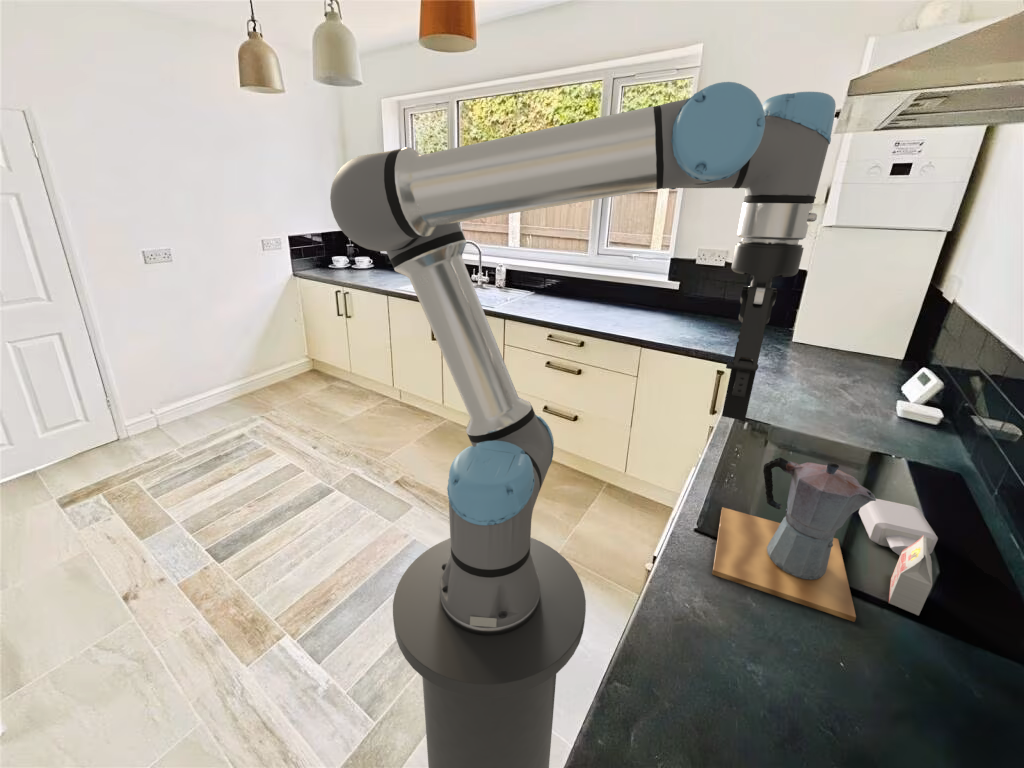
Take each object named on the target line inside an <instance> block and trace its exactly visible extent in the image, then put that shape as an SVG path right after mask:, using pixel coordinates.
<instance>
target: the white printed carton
mask: <svg viewBox="0 0 1024 768" xmlns="http://www.w3.org/2000/svg"><path fill="white" fill-rule="evenodd" d="M930 556H931V554H929V551H928V547H927V543H926V537H924V535H923V536H922V537H921V538H920V539H919V540H918V541H916V542H915V543H914V544H912V545H910V546H909V547H907V548H906V549H904V550H902V552H901V555H899V558H898V559H897V563H896V565H895V568H894V570H893V572H892V574H891V577H890V583H889V594H888V604H890V605H892V606H895V607H896V608H897V607H898V608H899V609H902V610H904V611H906V612H909V613H911V614H914V615H916V616H917V617H918V616H920V614H921V611H922V610H923V608H924V605H925V603H926V601H927V598H928V596H929V594H930V593H931V589H932V587H933V564H932V563H933V561H932V557H931V558H930Z"/></svg>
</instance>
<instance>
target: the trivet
mask: <svg viewBox="0 0 1024 768" xmlns="http://www.w3.org/2000/svg"><path fill="white" fill-rule="evenodd" d="M780 523H781V522H778V521H774V520H770V519H768V518H767V519H766V518H763V517H759V516H756V515H751V514H748V513H745V512H741V511H738V510H734V509H730V508H727V507H724V506H723V507H721V510H720V517H719V524H718V531H717V538H716V544H715V552H714V558H713V565H712V572H711V575H712V576H715V577H719V578H721V579H725V580H726V581H727V580H728V581H731V582H733V583H736V584H739V585H741V586H742V585H743V586H745V587H748V588H751V589H754V590H757V591H760V592H763V593H765V594H769V595H772V596H775V597H779V598H780V599H784V600H787V601H790V602H793V603H796V604H799V605H802V606H806V607H808V608H810V609H814V610H817V611H820V612H823V613H825V614H829V615H832V616H834V617H838V618H841V619H844V620H847V621H850V622H853V623H855V622H856V619H857V615H856V610H855V605H854V602H853V598H852V597H853V596H852V593H851V589H850V584H849V579H848V575H847V570H846V566H845V562H844V559H843V558H844V557H843V554H842V553H843V552H842V549H841V545H840V540H839V538H836V537H834V538H833V546H832V547H831V552H830V556H829V561H828V565H827V569H826V572H825V574H824V575H823V576H822V577H821V578H819V579H816V580H809V579H802V578H799V577H796V576H794V575H791V574H789V573H787V572H785V571H784V570H782V569H781V568H779V567H778V566H777V565H776V564H775V563H774V562H773V561H772V560H771V559H770V557H769V555H768V553H767V546H768V544H769V542H770V541H771V539H772V537H773V536H774V534H775V532H776V531H777V529H778V527H779V525H780Z"/></svg>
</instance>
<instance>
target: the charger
mask: <svg viewBox="0 0 1024 768" xmlns="http://www.w3.org/2000/svg"><path fill="white" fill-rule="evenodd" d="M858 515H859V517H860V519H861V522H862V524H863V527H864V528H865V531H866V533H867V535H868V538H869V540H870V541H871V542H872V543H874V544H877V545H880V546H882V547H886V548H890V549H891V550H892V552H893V553H895V554H896V555H898V556H900V555H901V552H902V550H904V549H906V548H907V547H909V546H910V545H912V544H914V543H915V542H916V541H918V540H919V539H920V538H921V537H922V536H923V535H924V537H926V543H927V547H928V551H929V554H930V558H931V559H932V556H931V554H932V553H933V551H934V549H935V547H936V545H937V542H938V540H939V537H938V536H937V535H936V532H935V530H934V529H933V528H932V526H931V525H930V524H929V522H928V521H927V519H926V517H925V516H924V514H923V513H922V511H921V510H920V508H918V507H915V506H913V505H909V504H904V503H899V502H894V501H889V500H884V499H880V498H876V501H870V502H869V503H867V504H866V505H864V506H863V507H861V508H860V509H858Z"/></svg>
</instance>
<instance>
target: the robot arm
mask: <svg viewBox="0 0 1024 768" xmlns="http://www.w3.org/2000/svg"><path fill="white" fill-rule="evenodd" d="M835 114H836V100H835V98H834V97H833V96H832V95H831V94H829V93H826V92H821V91H797V92H793V93H782V94H777V95H774V96H772V97H769V98H767V99H766V100H765V101H764V102H763V103H762V102H761V99H760V98H759V97H758V95H757V94H756V93H755V91H753V90H752V88H750V87H748V86H746V85H744V84H742V83H738V82H734V81H721V82H716V83H713V84H710V85H708V86H705V87H704V88H702V89H701V90H700V91H697V92H695V93H694V94H693V95H692V96H691V97H689V98H684V99H680V100H676V101H671V102H666V103H662V104H659V105H652V106H647V107H643V108H638V109H633V110H629V111H624V112H620V113H615V114H610V115H605V116H599V117H595V118H590V119H585V120H581V121H576V122H571V123H567V124H561V125H557V126H553V127H552V126H551V127H548V128H543V129H537V130H534V131H533V130H532V131H528V132H524V133H519V134H514V135H509V136H504V137H501V138H495V139H491V140H486V141H485V140H484V141H481V142H477V143H472V144H466V145H462V146H457V147H453V148H448V149H443V150H438V151H434V152H430V153H425V154H420V153H419V152H418V151H417V150H416V149H414V148H412V147H402V148H397V149H393V150H388V151H387V150H386V151H382V152H374V153H369V154H368V153H367V154H362V155H358V156H356V157H353V158H351V159H350V160H348V161H347V162H345V163H343V165H342V166H341V167H340V169H339V170H338V172H337V173H336V174H335V176H334V179H333V181H332V184H331V188H330V197H329V200H330V209H331V212H332V215H333V218H334V220H335V223H336V224H337V225H338V227H339V229H340V230H341V232H342V233H343V234H344V235H345V236H346V237H347V238H348V239H349V240H350V241H352V242H353V243H354V244H356V245H358V246H359V247H362V248H364V249H366V250H370V251H375V252H386V254H387V256H388V258H389V260H390V263H391V265H392V268H393V269H394V271H395V272H396V273H399V274H401V275H403V276H405V277H407V278H408V279H409V281H410V283H411V285H412V287H413V291H414V292H415V295H416V297H417V299H418V301H419V304H420V306H421V309H422V310H423V313H424V315H425V317H426V320H427V322H428V325H429V326H430V329H431V331H432V333H433V335H434V336H433V337H434V338H435V341H436V342H437V345H438V347H439V349H440V351H441V354H442V356H443V358H444V360H445V363H446V366H447V368H448V370H449V372H450V375H451V376H452V380H453V381H454V383H455V386H456V388H457V391H458V393H459V395H460V397H461V400H462V402H463V404H464V406H465V409H466V412H467V414H468V416H469V419H468V422H467V424H466V428H465V432H466V434H467V437H468V439H469V441H470V444H471V445H469V446H467V447H466V448H463V450H461V451H460V452H459V453H458V454H457V455H456V456H455V458H454V459H453V461H452V462H451V464H450V467H449V470H448V471H449V473H448V480H447V483H448V484H447V486H446V491H447V498H448V513H449V515H448V516H449V538H450V541H451V554H450V557H449V559H448V562H447V564H443V565H442V570H444V573H443V576H442V579H441V584H440V602H441V606H442V609H443V611H444V613H445V615H446V616H447V618H448V619H449V620H450V621H451V622H452V623H453V624H454V625H456V626H457V627H459V628H461V629H462V630H465V631H467V632H470V633H473V634H477V635H487V636H490V635H500V634H505V633H508V632H511V631H513V630H516V629H518V628H519V627H521V626H523V625H524V624H525V623H526V622H528V621H529V620H530V619H531V617H532V616H533V615H534V613H535V612H536V610H537V608H538V605H539V601H540V581H539V576H538V573H537V571H536V569H535V565H534V562H533V559H532V557H531V554H530V538H532V536H531V535H532V519H533V513H534V508H535V505H536V502H537V499H538V496H539V494H540V491H541V488H542V486H543V484H544V482H545V479H546V476H547V474H548V471H549V468H550V467H551V465H552V463H553V462H552V461H553V457H554V449H555V444H554V443H555V442H554V441H555V440H554V436H553V432H552V430H551V428H550V426H549V424H548V423H547V422H546V421H545V420H544V418H542V417H541V415H537V414H536V413H535V412H536V411H535V410H534V407H533V405H532V403H531V402H530V401H529V400H527V399H523V398H521V397H519V395H518V393H517V389H516V387H515V385H514V383H513V380H512V377H511V375H510V373H509V370H508V368H507V365H506V363H505V360H504V357H503V355H502V353H501V351H500V347H499V346H498V343H497V341H496V338H495V335H494V333H493V331H492V329H491V326H490V323H489V320H488V318H487V316H486V314H485V311H484V309H483V306H482V303H481V302H480V298H479V296H478V294H477V291H476V289H475V286H474V283H473V281H472V279H471V277H470V273H469V271H468V269H467V266H466V264H465V262H464V259H463V254H464V252H465V249H466V245H467V243H468V242H467V240H466V237H465V235H464V231H463V229H462V226H461V224H460V223H462V222H468V221H473V220H475V221H476V220H481V219H485V218H493V217H498V216H504V215H510V214H516V213H521V212H529V211H533V210H534V211H535V210H541V209H547V208H553V207H558V206H565V205H570V204H577V203H582V202H583V203H584V202H591V201H594V200H602V199H607V198H615V197H619V196H625V195H631V194H632V195H633V194H638V193H643V192H649V191H656V190H667V189H670V190H676V189H745V191H744V197H743V203H742V204H741V211H740V217H739V222H738V226H737V227H738V228H737V232H736V236H737V237H738V238H741V239H740V241H738V242H737V243H736V244H735V246H734V250H733V255H732V262H731V268H730V269H731V270H732V271H733V272H734V273H736V274H741V275H750V277H749V286H747V285H742V289H741V294H740V299H739V303H740V310H739V314H738V321H739V322H741V324H740V325H741V326H740V327H739V331H738V332H739V333H738V336H737V339H738V340H737V342H736V345H735V349H734V350H735V351H734V354H733V360H732V361H729V360H728V361H727V362H726V366H725V369H729V370H730V373H729V379H728V382H727V388H726V394H725V399H724V403H723V408H722V412H721V417H725V418H728V419H733V420H738V421H744V422H745V421H746V418H747V413H748V409H749V404H750V400H751V396H752V391H753V390H752V389H753V388H754V387H753V386H754V381H755V378H756V374H757V371H758V369H759V364H758V363H759V360H760V359H759V358H760V353H761V350H762V349H761V348H762V344H763V341H764V333H765V329H766V325H768V323H769V322H770V319H771V315H772V309H773V307H774V306H775V302H776V300H777V296H778V295H777V294H778V291H777V288H774V287H772V284H773V278H774V277H779V278H780V277H781V278H787V277H788V278H789V277H794V276H796V275H797V274H798V272H799V270H800V265H801V261H802V257H803V252H804V249H805V248H804V247H803V245H802V244H800V243H799V242H800V241H802V240H804V239H806V237H807V235H808V230H809V224H808V223H809V222H810V223H812V222H815V221H817V218H818V214H817V213H816V212H811V211H812V210H813V208H814V204H815V199H816V195H817V191H818V187H819V184H820V181H821V176H822V172H823V168H824V165H825V161H826V157H827V154H828V148H829V145H830V144H831V142H832V132H833V127H834V121H835Z"/></svg>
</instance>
